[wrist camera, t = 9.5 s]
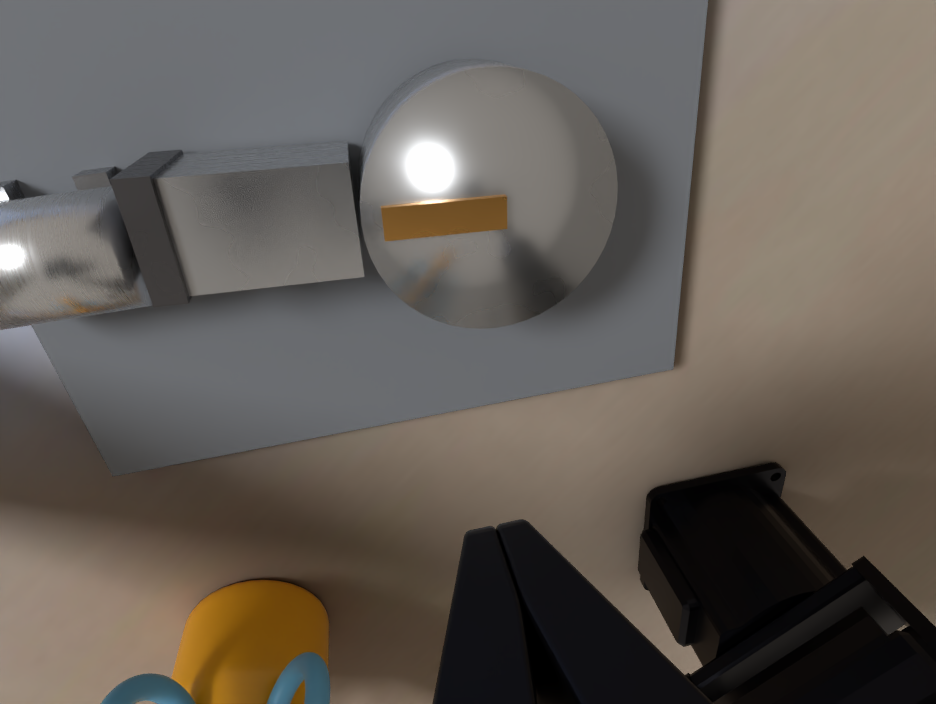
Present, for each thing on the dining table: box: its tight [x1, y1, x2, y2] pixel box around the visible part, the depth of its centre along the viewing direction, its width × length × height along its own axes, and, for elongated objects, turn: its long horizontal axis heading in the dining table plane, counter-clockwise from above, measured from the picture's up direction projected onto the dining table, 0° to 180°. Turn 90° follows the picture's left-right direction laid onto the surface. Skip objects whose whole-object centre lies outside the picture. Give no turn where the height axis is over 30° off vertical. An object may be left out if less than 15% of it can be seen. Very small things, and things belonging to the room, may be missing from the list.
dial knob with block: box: [109, 59, 618, 329], centre depth 15 cm, size 12×6×3 cm, turn 92°
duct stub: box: [0, 166, 152, 330], centre depth 15 cm, size 4×3×3 cm
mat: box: [0, 0, 708, 476], centre depth 17 cm, size 20×15×1 cm
